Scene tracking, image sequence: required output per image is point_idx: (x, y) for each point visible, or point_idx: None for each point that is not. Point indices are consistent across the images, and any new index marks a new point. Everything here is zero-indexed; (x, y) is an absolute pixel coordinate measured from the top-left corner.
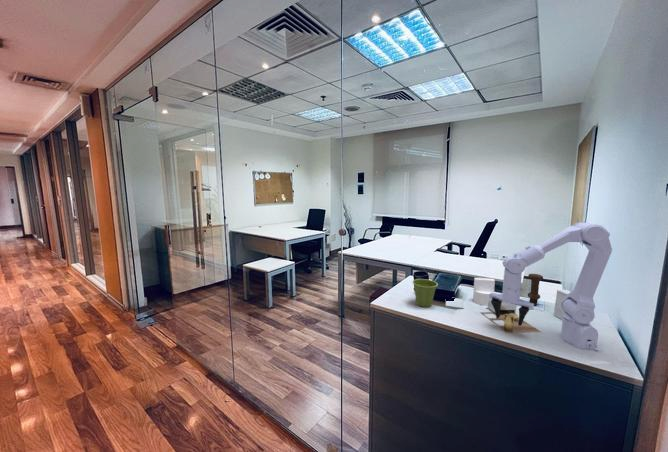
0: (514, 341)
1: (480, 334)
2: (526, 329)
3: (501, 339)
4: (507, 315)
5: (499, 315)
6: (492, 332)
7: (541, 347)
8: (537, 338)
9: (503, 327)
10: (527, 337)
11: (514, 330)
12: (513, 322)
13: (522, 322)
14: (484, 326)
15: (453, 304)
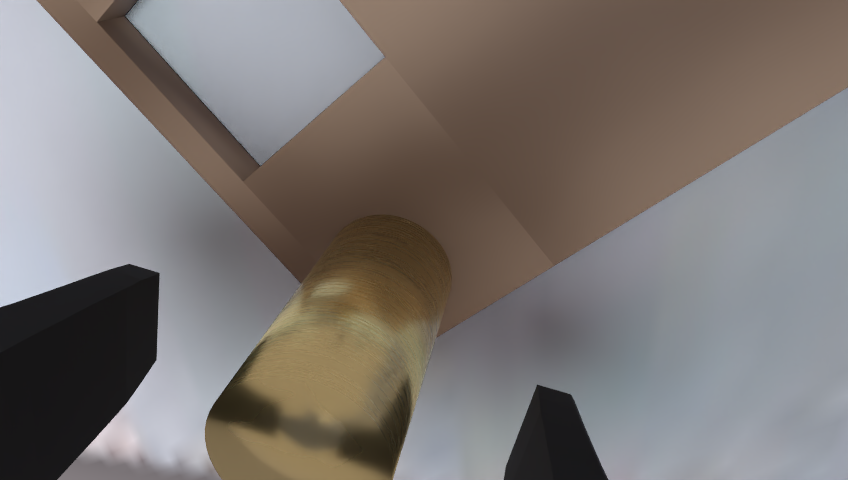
0: (490, 455)
1: (153, 460)
2: (674, 60)
3: None
4: (261, 468)
5: (133, 318)
6: (234, 354)
7: (803, 461)
8: (818, 217)
9: (313, 214)
10: (660, 265)
11: (472, 234)
12: (420, 384)
13: (580, 421)
14: (102, 232)
15: None
